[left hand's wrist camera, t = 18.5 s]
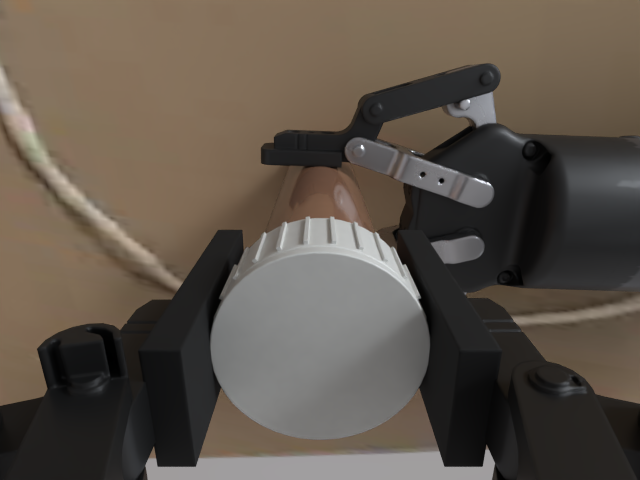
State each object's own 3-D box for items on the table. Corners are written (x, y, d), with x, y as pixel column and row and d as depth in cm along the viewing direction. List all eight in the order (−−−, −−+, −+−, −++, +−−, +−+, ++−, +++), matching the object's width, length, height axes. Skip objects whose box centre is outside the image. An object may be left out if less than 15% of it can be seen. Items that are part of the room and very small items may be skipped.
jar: (280, 149, 27) (215, 270, 10) (347, 138, 27) (395, 241, 10) (293, 213, 28) (255, 413, 11) (357, 203, 28) (413, 391, 11)
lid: (451, 281, 12) (482, 329, 10) (341, 406, 13) (345, 473, 11) (293, 175, 11) (286, 201, 9) (193, 323, 12) (165, 379, 10)
